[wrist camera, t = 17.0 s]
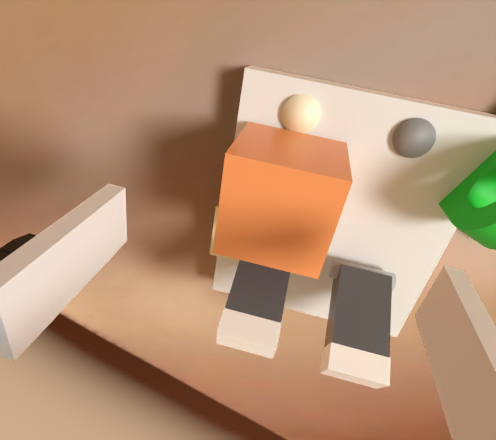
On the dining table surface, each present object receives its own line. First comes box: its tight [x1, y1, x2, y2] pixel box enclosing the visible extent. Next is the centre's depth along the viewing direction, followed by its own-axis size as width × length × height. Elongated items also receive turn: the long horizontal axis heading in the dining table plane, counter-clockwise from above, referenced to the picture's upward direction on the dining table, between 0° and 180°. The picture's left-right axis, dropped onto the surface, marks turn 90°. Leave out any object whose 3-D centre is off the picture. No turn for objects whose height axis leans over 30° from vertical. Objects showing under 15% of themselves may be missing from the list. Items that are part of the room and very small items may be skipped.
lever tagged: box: [217, 260, 290, 359], centre depth 24 cm, size 2×4×8 cm, turn 80°
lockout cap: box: [213, 121, 353, 279], centre depth 21 cm, size 6×6×6 cm
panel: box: [209, 65, 496, 337], centre depth 25 cm, size 18×17×2 cm
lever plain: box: [320, 259, 396, 389], centre depth 23 cm, size 2×4×8 cm
